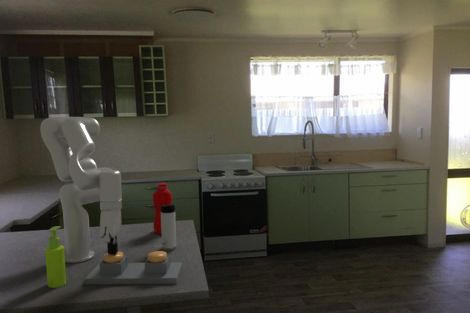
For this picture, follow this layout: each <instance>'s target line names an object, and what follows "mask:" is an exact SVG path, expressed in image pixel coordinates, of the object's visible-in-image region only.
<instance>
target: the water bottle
mask: <svg viewBox="0 0 470 313" xmlns="http://www.w3.org/2000/svg"><path fill="white" fill-rule="evenodd" d="M167 187H168V184H167V183H166V182H161V183H157V188H156V190H155V191H154V192H153V194H152V197H151V198H150V201H153V208H152V210H154V211H155V215H154V218H153V219H154V220H153V231H154V233H156V234H158V235H162V234H161V206H162V205H173V204H172V203H173V194H172V192H171V191H170V190H169V189H168V188H167ZM151 203H152V202H150V208H149V209H151Z"/></svg>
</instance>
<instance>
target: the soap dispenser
mask: <svg viewBox="0 0 470 313" xmlns="http://www.w3.org/2000/svg"><path fill="white" fill-rule="evenodd" d="M61 228H62V226H60V225H59V226H56V225H55V226H52V227H51V228H50V229H48V232H49V233H50V235H51V236H50V237H49V238H48V246H47V247H45V263H46V265H45V266H46V281H47V287H48V288H51V289H52V288H53V289H54V288H59V287H62V286H63V287H64V285H66V284H67V274H66V273H67V272H66V270H67V269H66V262H65V253H64V247H65V245H62V244H61V240H60V239H61V238H60V236H58V234H57V233H58V232H57V231H58V229H61Z"/></svg>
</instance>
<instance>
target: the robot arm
mask: <svg viewBox="0 0 470 313" xmlns="http://www.w3.org/2000/svg"><path fill="white" fill-rule="evenodd" d="M100 133H101V126H100V123H99V122H98V120H96V119H95V118H94V117H86V116H52V117H48V118H45V119H44V120H42V122H41V123H40V135H41V136H40V137H41V138H42V141H43V142H44V145H45V147H47V149H48V151H49V154H50V155H51V159H52V163H53V166H54V169H55V172H56V175H57V177H58V179H59V180H60V181H61V182H68V183H65V184H64V185H62V186H61V187H60V189H59V193H58V194H59V195H58V196H59V200H60V203H61V208H62V217H63V230H64V231H63V232H64V234H63V235H64V253H65V264H66V263H68V264H76V263H82V262H86V261H89V260H92V258H94V257H95V256H96V255H95V251H94V250H91V236H90V235H91V234H90V219H89V213H88V211H87V210H86V209H85V208H84V207H83V205H87V204H93V203H96V202H97V203H98V202H99V209H100V218H99V219H100V220H99V236H100V237H99V238H100V239H103V238H105V243H106V245H107V253H108V254H117V253H118V251H119V248H118V247H119V244H118V242H119V241H118V240H119V239H118V238H119V236H118V235H119V233H120V232H121V231H122V211H121V210H122V209H123V198H122V197H123V196H122V194H123V193H122V192H123V191H122V173H121V172H120V171H119V170H117V169H112V168H111V167H108V166H107V167H98V165H97V163H96V161H95V160H94V159H93V158H91V157H89V156H91V155H92V154H93V153H94V152H95V149H96V144H95V142H94V140H93V138H97V137H98V136H99V134H100ZM63 138H65V140H64V139H63Z"/></svg>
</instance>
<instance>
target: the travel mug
mask: <svg viewBox="0 0 470 313" xmlns="http://www.w3.org/2000/svg"><path fill="white" fill-rule="evenodd" d="M176 222H177V221H176V205H175V204H171V205H162V206H161V234H160V235H161V249H162V251H165V252H166V251H167V252H168V251H174V250H176V249H177V230H176V229H177V228H176Z"/></svg>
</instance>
